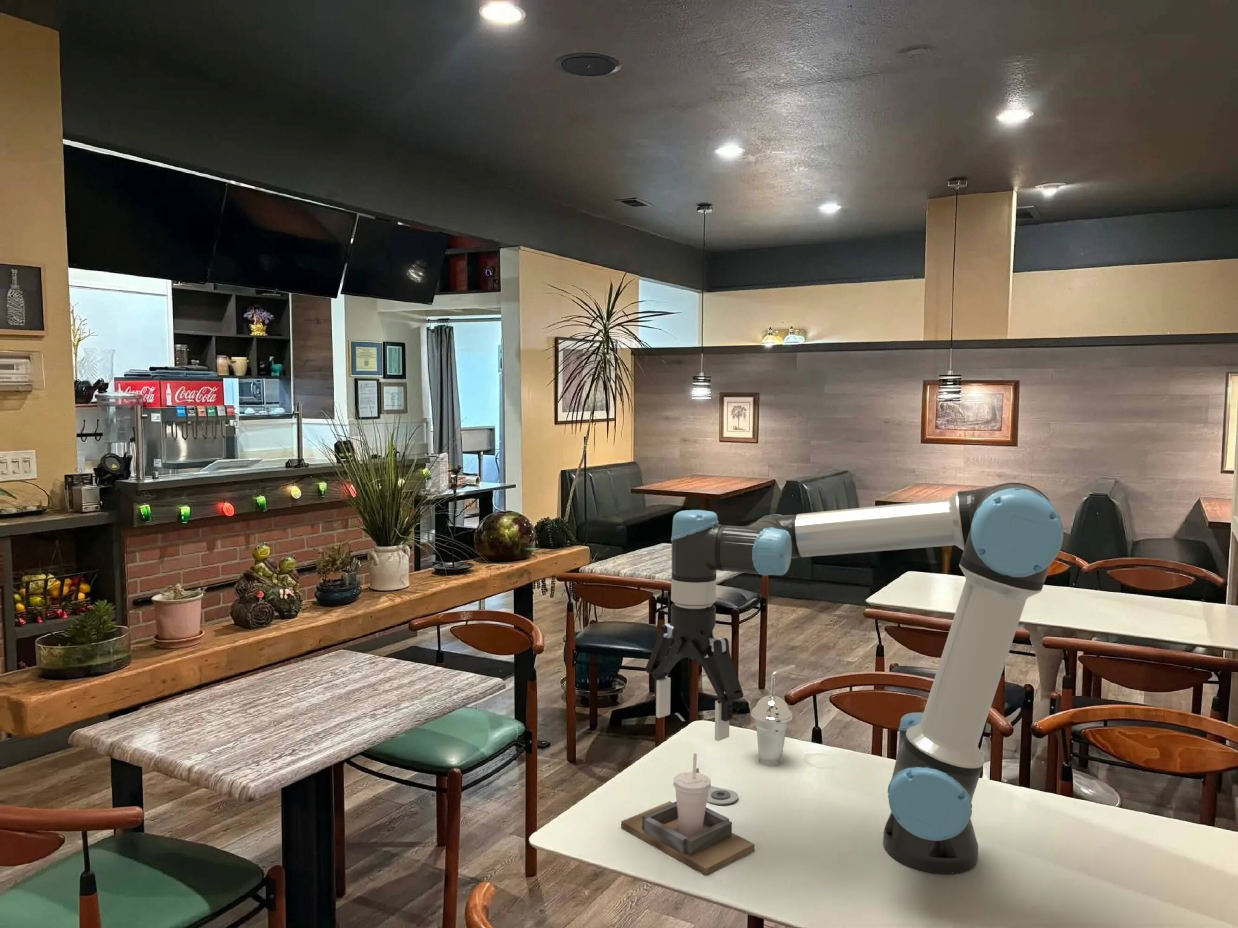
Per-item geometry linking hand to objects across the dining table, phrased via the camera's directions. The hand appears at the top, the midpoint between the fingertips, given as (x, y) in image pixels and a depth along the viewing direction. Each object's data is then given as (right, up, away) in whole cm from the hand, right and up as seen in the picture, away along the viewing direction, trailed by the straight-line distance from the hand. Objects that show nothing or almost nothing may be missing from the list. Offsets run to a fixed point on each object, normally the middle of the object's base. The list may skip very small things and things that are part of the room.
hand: (691, 726), depth 152 cm
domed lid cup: (+19, -18, +35) cm, 43 cm away
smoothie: (0, -19, +1) cm, 19 cm away
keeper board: (-1, -20, +2) cm, 20 cm away
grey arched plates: (+5, -19, +19) cm, 28 cm away
